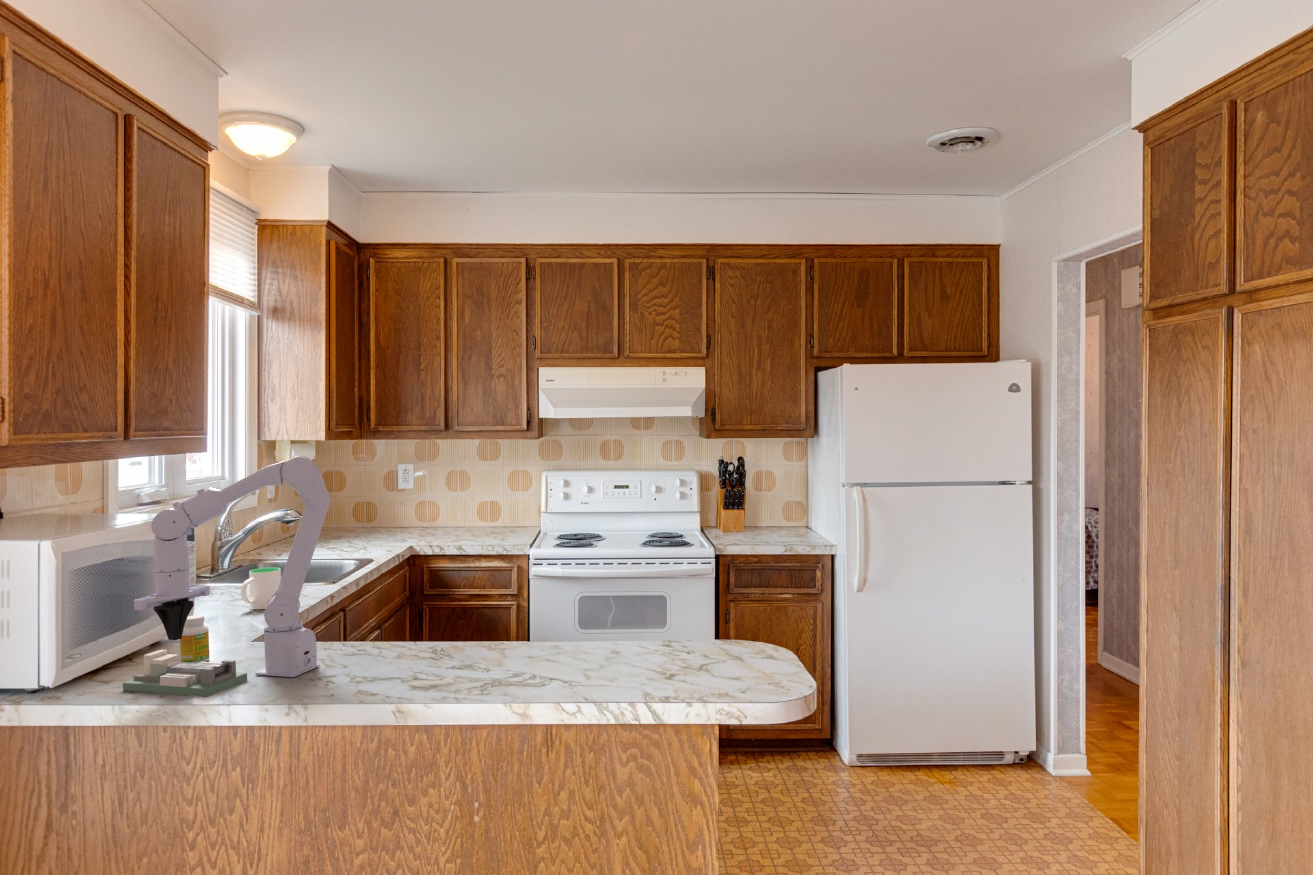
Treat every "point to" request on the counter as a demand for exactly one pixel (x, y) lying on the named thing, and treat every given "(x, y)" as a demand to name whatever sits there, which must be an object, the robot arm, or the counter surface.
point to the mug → (261, 586)
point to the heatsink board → (188, 681)
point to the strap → (197, 668)
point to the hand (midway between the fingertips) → (174, 639)
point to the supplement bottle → (194, 640)
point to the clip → (157, 662)
